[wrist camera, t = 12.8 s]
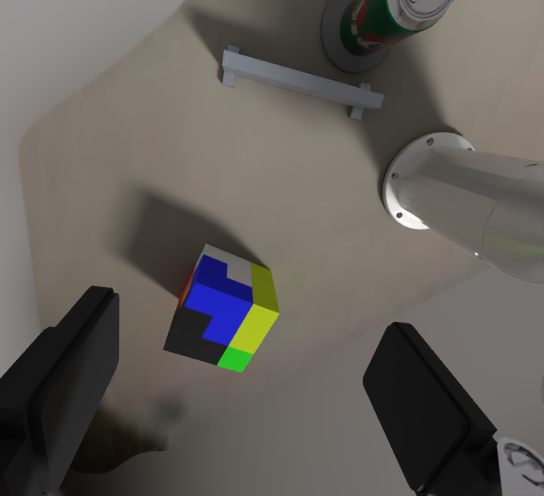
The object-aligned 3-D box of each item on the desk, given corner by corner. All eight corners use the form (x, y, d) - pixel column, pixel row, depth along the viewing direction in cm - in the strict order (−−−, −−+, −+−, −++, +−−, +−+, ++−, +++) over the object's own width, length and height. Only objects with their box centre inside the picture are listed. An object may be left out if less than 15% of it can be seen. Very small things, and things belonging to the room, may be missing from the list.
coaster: (407, -7, 29) (410, -10, 29) (378, 81, 32) (381, 80, 32) (334, -33, 28) (336, -36, 27) (312, 61, 31) (313, 60, 30)
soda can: (392, 37, 30) (476, -4, 19) (350, 68, 31) (408, 44, 20) (373, -15, 28) (455, -95, 17) (329, 19, 29) (380, -37, 18)
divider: (368, 85, 33) (389, 81, 28) (358, 119, 34) (376, 120, 29) (228, 45, 30) (226, 33, 25) (222, 84, 31) (220, 80, 26)
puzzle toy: (206, 243, 39) (196, 282, 30) (270, 270, 42) (279, 313, 33) (179, 299, 42) (163, 349, 33) (240, 320, 45) (241, 372, 36)
